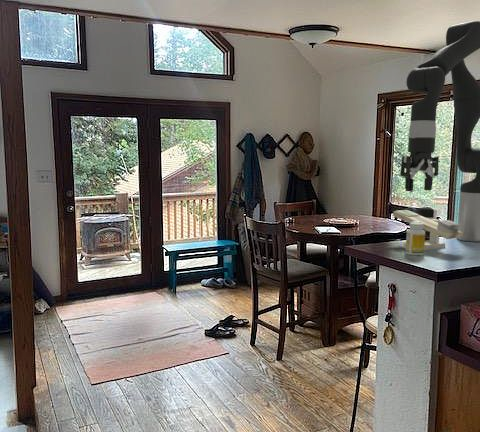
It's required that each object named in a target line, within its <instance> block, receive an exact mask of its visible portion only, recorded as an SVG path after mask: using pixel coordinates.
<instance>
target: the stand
mask: <svg viewBox="0 0 480 432" xmlns="http://www.w3.org/2000/svg"><path fill="white" fill-rule="evenodd" d="M431 220H433V221H435V222H439V221H441V220H440V219H437V218H436V219H431ZM412 222H417V223H421V222H418V221H412ZM445 248H446V243H445V242H441V241H440V236H439V235H436V234H434V233H432V232H430V240H427V241H425V244H424V251H431V250H437V249H445ZM403 249H406V242H405V243H403ZM430 249H431V250H430Z"/></svg>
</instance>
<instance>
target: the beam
mask: <svg viewBox="0 0 480 432" xmlns="http://www.w3.org/2000/svg"><path fill="white" fill-rule="evenodd" d="M392 217H394V218H397V219H399V220H402V221H403V222H405V223H406V222H407V223H409V224H410V223H412V221H418V222H421V223H423V224H424V227H423V229H425V230H427V231H429V232H432V233H434V234H436V235H439V237H440V238H444V239H446V240H450V239H457V238H459V237H461V236H462V233H463V232H460V231H458V229H459V225H460V224H458V222H455V221H452V220H450V219H447V220H440V221H439V222H435V221H433V220H430V219H428V218H425V217H423V216H420V215H418V213H416V212H413V211H410V210H408V209H401V210H398V209H397V210H395V211H393V212H392Z"/></svg>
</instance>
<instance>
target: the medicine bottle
mask: <svg viewBox="0 0 480 432" xmlns="http://www.w3.org/2000/svg"><path fill="white" fill-rule="evenodd" d="M417 214H418V215H420V216H423V217H425V218H428V219H430V220H431V219H436V220H437V218H438V217H437V215H438V209H437V208H436V207H431V206H430V207H429V206H428V207H427V206H421V207H420V208H419V209H418V213H417ZM422 230H424V231H425V241H427V240H430V232H429V231H427V230H425V229H422Z"/></svg>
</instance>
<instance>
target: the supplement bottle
mask: <svg viewBox="0 0 480 432" xmlns="http://www.w3.org/2000/svg"><path fill="white" fill-rule="evenodd" d="M423 227H424V224H423V223H417V222H412V223H409V229H407V230H406V237H405V238H406V239H405V243H406V248H405V254H407V255H409V254H410V255H409V256H417V255H420V256H423V255H424V254H425V250H424V244H425V231H424V230H422V229H423Z"/></svg>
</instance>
